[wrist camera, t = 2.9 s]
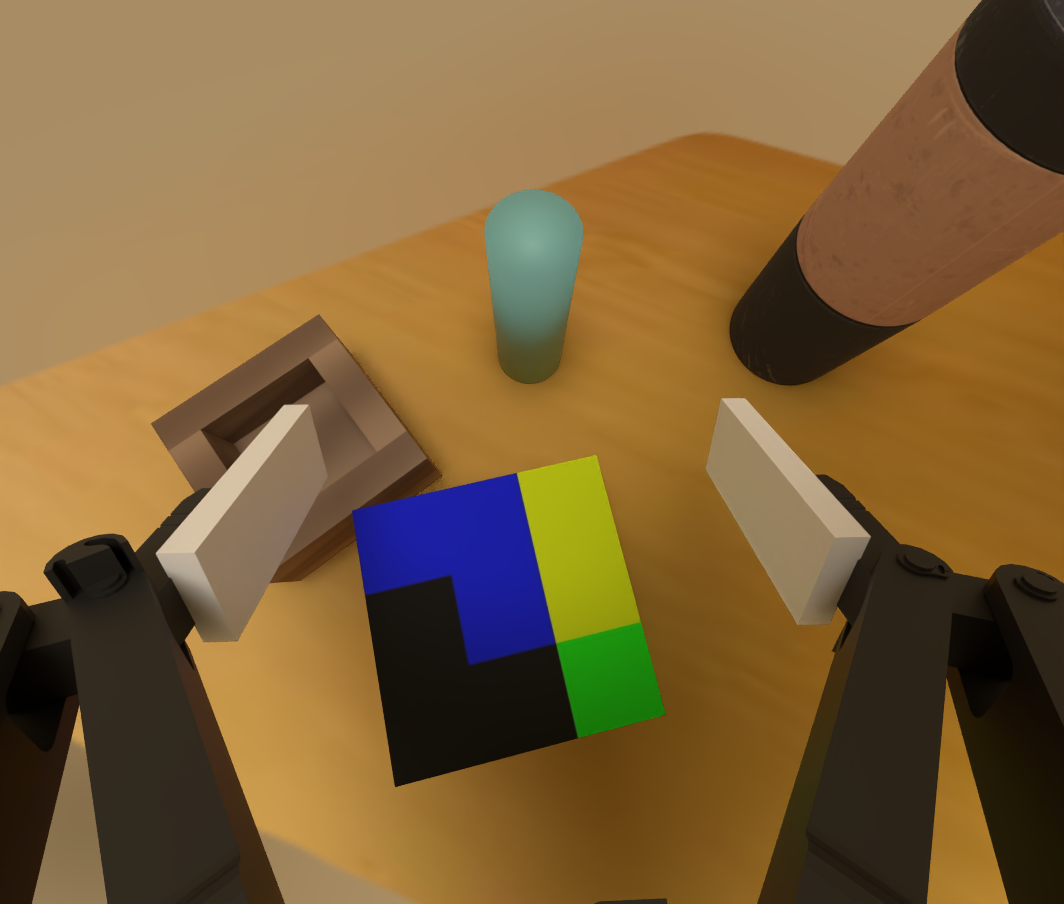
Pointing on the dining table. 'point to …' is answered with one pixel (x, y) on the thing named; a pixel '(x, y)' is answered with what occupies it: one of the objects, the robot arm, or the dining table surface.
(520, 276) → the teal dowel
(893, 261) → the travel mug
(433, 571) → the puzzle toy
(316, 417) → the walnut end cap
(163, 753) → the robot arm
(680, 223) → the dining table surface
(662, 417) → the dining table surface
